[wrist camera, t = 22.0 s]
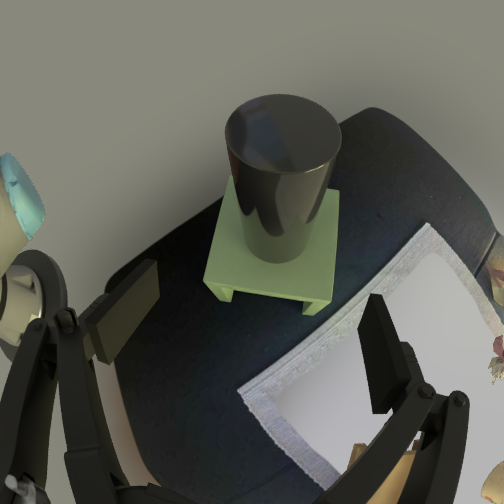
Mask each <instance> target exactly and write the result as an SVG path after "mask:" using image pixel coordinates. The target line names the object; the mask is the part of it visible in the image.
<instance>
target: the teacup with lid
mask: <svg viewBox="0 0 504 504" xmlns="http://www.w3.org/2000/svg"><path fill="white" fill-rule="evenodd" d="M481 497H482V498H484V499H485V500H488V501H490V502H492V503H494V504H504V461H503V462H501V463H500V464H498V465H497V466H496V467H495V468H494V469H493V470H492V472H491V473H490V474H489V476H488V477H487V479H486V481H485V482H484V484H483V487H482V491H481Z"/></svg>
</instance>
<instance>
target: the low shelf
mask: <svg viewBox="0 0 504 504" xmlns="http://www.w3.org/2000/svg"><path fill="white" fill-rule="evenodd" d="M418 443H419V440H414V443H413V447H412V450H411V451H406V452H405V453H404V455H403V456H402V458H401V459H400V461H399V462H398V464H397V465H396V466H395V468H394V469H393V471H392V472H391V473H390V475H389V476H388V477H387V479H386V480H385V481H384V483H383V484H382V485H381V487H380V488H379V489H378V490H377V492H376V493H375V494H374V495H373V496H372V498H371V499H370V500H369V501H368V502H367V504H397V502H398V500H399V497H400V495H401V492H402V490H403V487H404V485H405V482H406V480H407V477H408V474H409V471H410V468H411V466H412V463H413V460H414V456H415V453H416V450H417V447H418ZM367 447H368V446H366V444H364V443H363V444H354V447H353V451H352V454H351V458H350V461H349V465H348V468H349V467H350V466H351V465H352V464H353V463H354V462H355V460H356V459H357V458H358V457H359V456H360V455H361V454H362V452H363V451H364V450H365V449H366V448H367ZM348 468H347V469H348Z"/></svg>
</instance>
